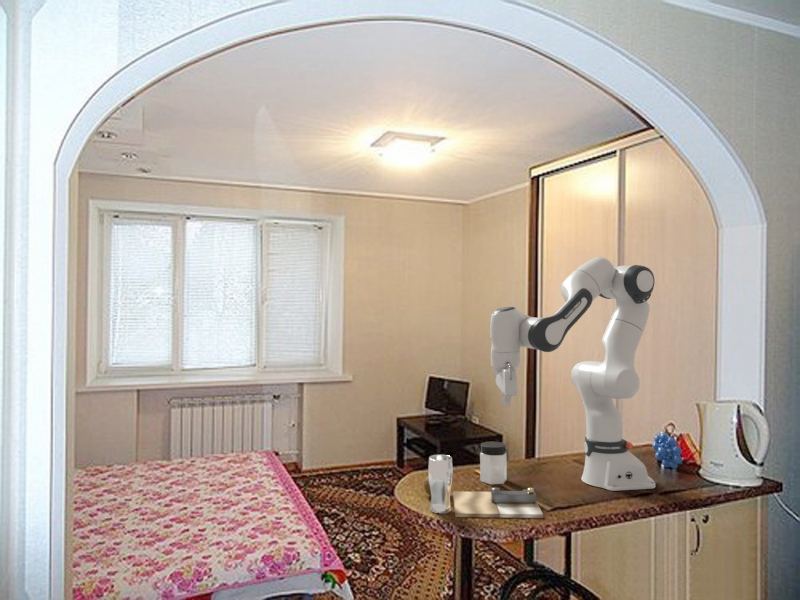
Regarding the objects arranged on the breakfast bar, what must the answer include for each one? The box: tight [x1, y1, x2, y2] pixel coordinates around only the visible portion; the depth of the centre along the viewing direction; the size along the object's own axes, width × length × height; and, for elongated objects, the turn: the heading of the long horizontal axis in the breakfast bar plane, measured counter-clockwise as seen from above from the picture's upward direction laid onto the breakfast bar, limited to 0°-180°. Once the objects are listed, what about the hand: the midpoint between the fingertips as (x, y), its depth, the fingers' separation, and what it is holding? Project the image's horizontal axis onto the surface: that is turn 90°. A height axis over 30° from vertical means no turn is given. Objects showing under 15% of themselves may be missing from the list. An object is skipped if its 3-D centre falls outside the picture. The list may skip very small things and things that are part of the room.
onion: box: [423, 475, 431, 497], centre depth 177 cm, size 8×8×8 cm
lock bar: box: [490, 486, 537, 503], centre depth 168 cm, size 13×3×4 cm, turn 88°
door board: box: [452, 488, 544, 519], centre depth 168 cm, size 24×18×4 cm
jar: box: [479, 441, 508, 486], centre depth 191 cm, size 9×8×12 cm
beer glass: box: [427, 454, 454, 515], centre depth 165 cm, size 7×7×15 cm
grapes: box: [651, 432, 683, 470], centre depth 204 cm, size 12×7×12 cm, turn 28°
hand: (506, 405), depth 177 cm, fingers closed
